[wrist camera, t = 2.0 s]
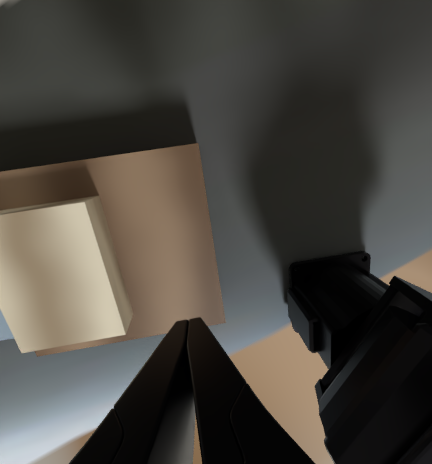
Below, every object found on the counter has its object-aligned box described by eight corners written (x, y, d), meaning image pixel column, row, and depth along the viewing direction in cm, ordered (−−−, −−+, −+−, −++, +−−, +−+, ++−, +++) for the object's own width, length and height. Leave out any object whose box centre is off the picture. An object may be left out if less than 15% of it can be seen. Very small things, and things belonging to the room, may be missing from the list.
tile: (99, 195, 14) (84, 201, 12) (133, 313, 16) (125, 334, 15) (-10, 211, 14) (-43, 221, 12) (41, 329, 16) (21, 353, 14)
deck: (197, 144, 16) (198, 143, 14) (220, 298, 20) (225, 322, 17) (-3, 174, 16) (-46, 178, 13) (59, 327, 20) (37, 356, 17)
